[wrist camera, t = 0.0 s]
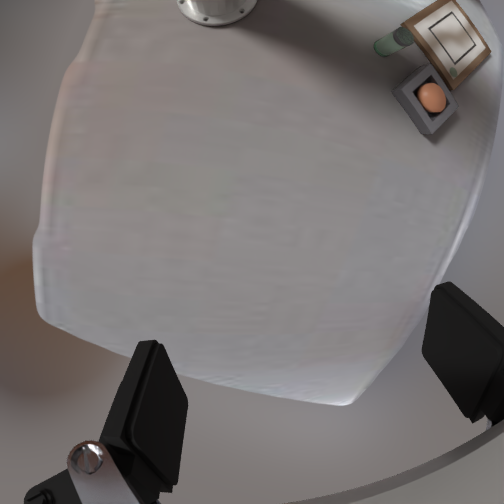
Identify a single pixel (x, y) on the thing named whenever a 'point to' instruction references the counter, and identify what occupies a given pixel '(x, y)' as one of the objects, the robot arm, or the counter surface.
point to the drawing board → (448, 40)
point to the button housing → (412, 106)
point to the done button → (431, 97)
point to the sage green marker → (394, 41)
